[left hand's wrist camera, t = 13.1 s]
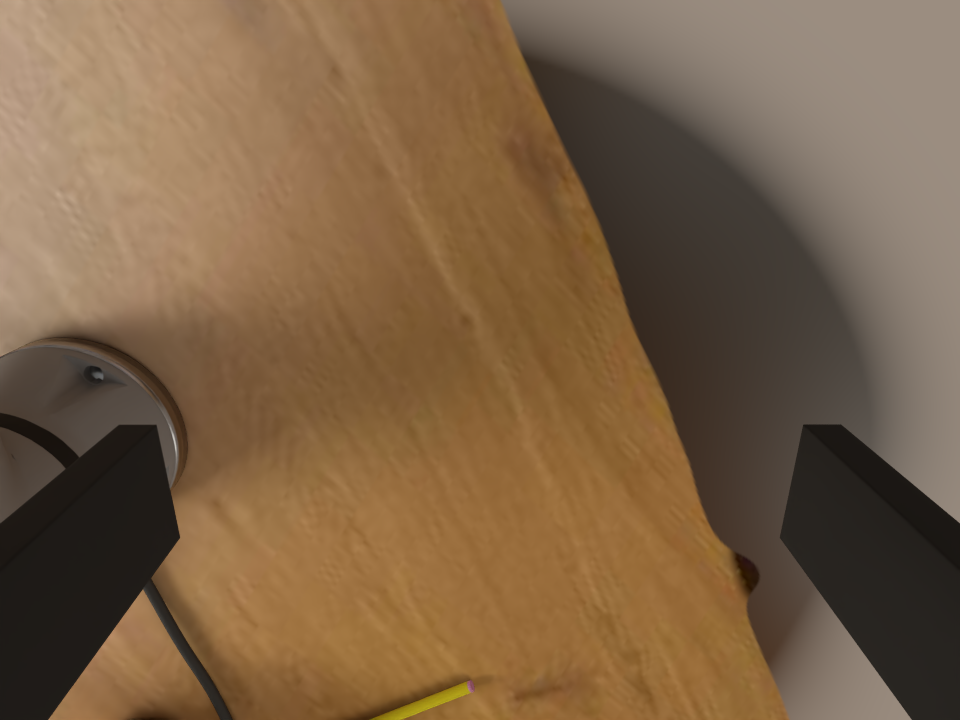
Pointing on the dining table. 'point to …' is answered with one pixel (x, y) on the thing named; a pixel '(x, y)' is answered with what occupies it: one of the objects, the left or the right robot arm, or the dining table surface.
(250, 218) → the dining table surface
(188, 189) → the dining table surface
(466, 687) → the pencil
